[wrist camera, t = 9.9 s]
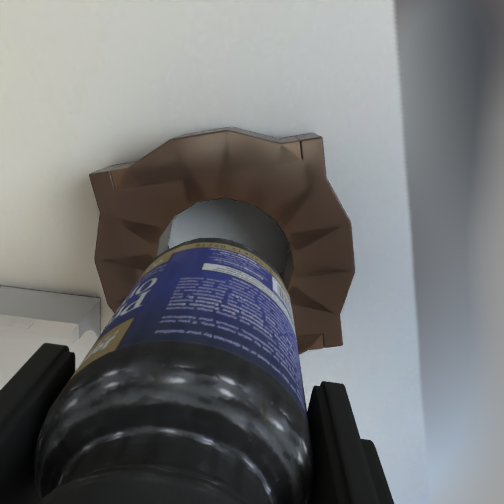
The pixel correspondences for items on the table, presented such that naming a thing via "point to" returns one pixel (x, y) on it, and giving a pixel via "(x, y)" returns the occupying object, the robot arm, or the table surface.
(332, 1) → the table surface
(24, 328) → the skate ramp
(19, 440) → the robot arm
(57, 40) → the table surface
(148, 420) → the pill bottle
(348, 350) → the table surface
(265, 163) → the ring
